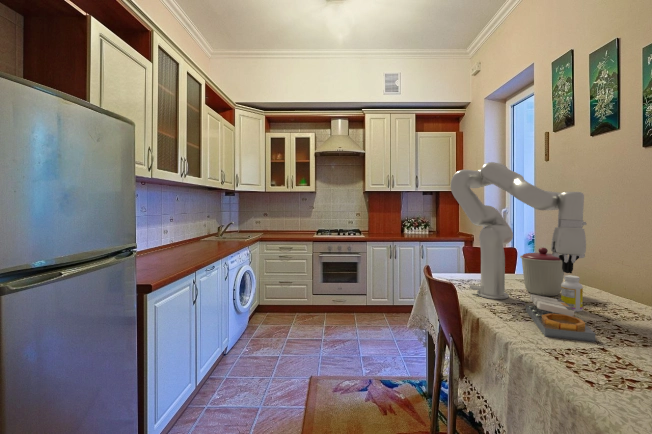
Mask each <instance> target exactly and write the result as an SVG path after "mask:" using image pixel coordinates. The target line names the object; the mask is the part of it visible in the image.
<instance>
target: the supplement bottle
mask: <svg viewBox="0 0 652 434" xmlns="http://www.w3.org/2000/svg"><path fill="white" fill-rule="evenodd" d="M563 280H564V281H563V283H562V284H561V292H560V293H561V294H560V299H561V300H562V301H564V302H565V304H567V305H568V306H569V307H570V308H572V309H573V310H574V311H575V312H574V313H576V312H577V313H579V312H582V311H583V305H584V303H583V302H584V297H583V295H584V293H583V291H584V286H583V285H582V283H580V281H581V280H580V276H577V275H570V274H567V275H564V277H563Z"/></svg>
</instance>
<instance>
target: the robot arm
mask: <svg viewBox="0 0 652 434" xmlns="http://www.w3.org/2000/svg"><path fill="white" fill-rule="evenodd" d="M452 175H453V176H452V178H451V180H450V191H451V193H452V195H453V197H454V199H455V200H456V201H457V203H458V204H459V206H460V207H461V209H462V210H463V212H464V213H465V215H466V217H467V218H468V219H469V221H470V222H471V224H473V225H474V226H477V227H483V228H482V229H481V230H480V232H479V234H478V241H479V246H480V283H479V284H477V285H476V284H475V285H474V284H470V285H469V290H473V291H476V294H477V296H479V297H482V298H485V299H491V300H492V299H493V300H505V299H508V298H509V294H508V293H507V292H506V291H505V288H506V287H505V286H506V285H505V282H506V281H505V279H506V277H505V276H506V272H505V271H506V268H505V267H506V255H505V249H504V245H505V246H506V245H508V244H509V243H511V242H512V240H513V239H514V233H513V230H512V228H511V227H510V225H509V224H508V222H507V221H506V219H505V218H504V217H503V215H502V214H501V212H500V211H498V210H497V208H496V207H494V206H491V205H485V204H484V203H483V202H482V201H481V199H480V198H479V196H478V195H477V194H476V193H475V192H474V191H473V190H472V189H478V188H484V187H487V186H491V185H494V186H496V187H498V188H499V189H501V190H503V191H505V192H507V193H509V194H510V195H511V196H512V197H514V198H515V199H517V200H518V201H520V202H522V203H523V204H525V205H527V206H530V207H531V208H533V209H535V210H538V211H557V213H558V215H557V227H554V230H553V233H552V236H551V237H552V238H551V244H550V249H551V252H552V253H551V254H552V256H555V257H558V258H559V259H560V260H561V261H562V270H563V272H564V274H573V271H574V263H576V261H577V260H579V259H584V258H586V255H585V254H586V251H587V237H586V230H585V228H583V227H584V226H587V221H584V203H585V194H584V192H581V191H563V192H557V191H549V190H544V189H542V188H539V187H538V186H535V185H533V184H531V183H529V182H528V181H527V180H526V179H525V178H524V176H523V175H522V174H519V173H518V172H515V171H513V170H511V169H510V168H508V166H506V164H503V163H500V162H493V161H491V162H489V161H488V162H487V163H484V164H483V165H482V166H481V168H480V169H478V170H473V169H461V170H458V171H456V172H455V173H454V174H452Z"/></svg>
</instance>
